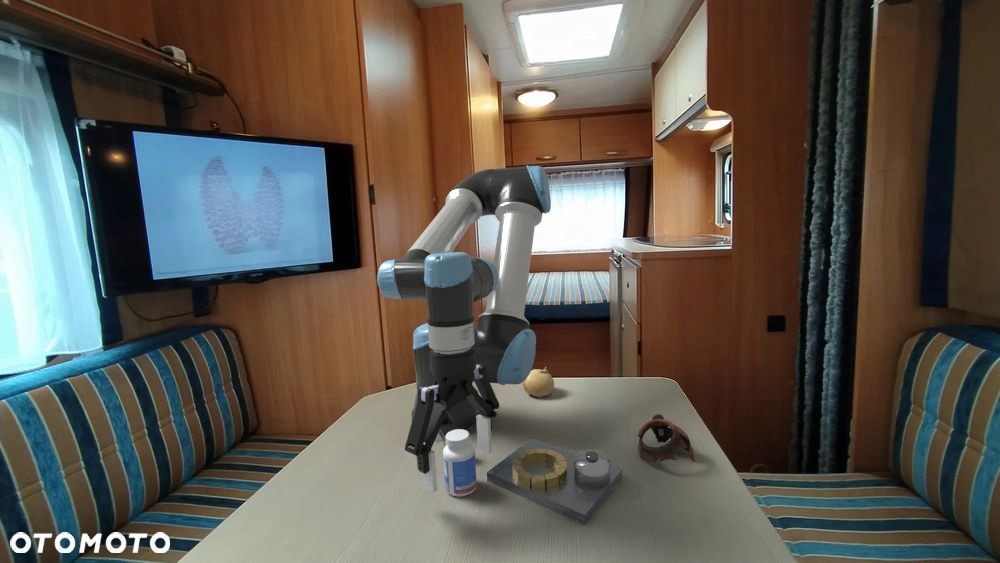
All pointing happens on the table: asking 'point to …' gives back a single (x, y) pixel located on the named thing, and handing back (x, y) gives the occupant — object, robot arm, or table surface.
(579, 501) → the carrier plate
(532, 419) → the table surface
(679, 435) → the pottery mug
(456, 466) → the pill bottle
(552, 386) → the onion
